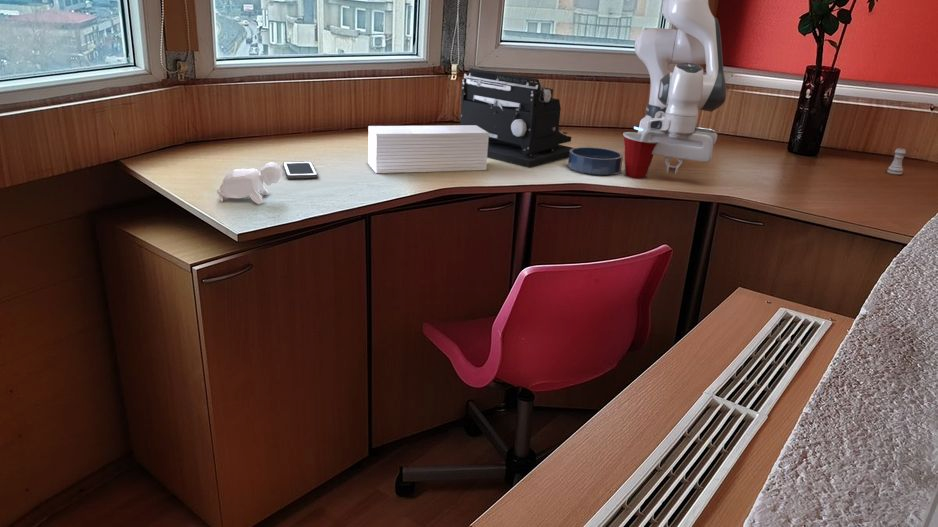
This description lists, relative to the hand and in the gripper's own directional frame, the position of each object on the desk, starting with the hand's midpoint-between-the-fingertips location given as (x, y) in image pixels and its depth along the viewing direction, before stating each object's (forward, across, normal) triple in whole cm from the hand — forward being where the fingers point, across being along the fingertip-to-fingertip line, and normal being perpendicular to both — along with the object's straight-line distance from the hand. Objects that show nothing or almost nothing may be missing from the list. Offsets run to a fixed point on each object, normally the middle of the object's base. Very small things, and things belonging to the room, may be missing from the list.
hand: (671, 172), depth 204 cm
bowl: (+3, +22, 0) cm, 23 cm away
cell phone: (+2, +88, +54) cm, 104 cm away
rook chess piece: (+3, -61, -58) cm, 85 cm away
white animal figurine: (+3, +82, +80) cm, 115 cm away
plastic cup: (+3, +10, 0) cm, 10 cm away
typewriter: (+3, +50, -7) cm, 51 cm away
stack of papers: (+3, +64, +28) cm, 70 cm away
